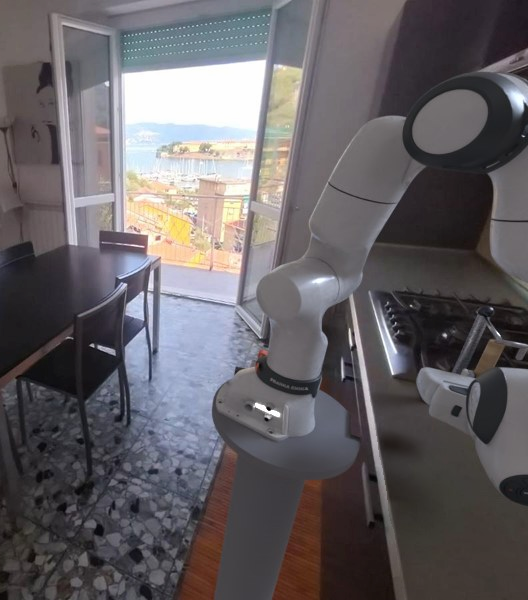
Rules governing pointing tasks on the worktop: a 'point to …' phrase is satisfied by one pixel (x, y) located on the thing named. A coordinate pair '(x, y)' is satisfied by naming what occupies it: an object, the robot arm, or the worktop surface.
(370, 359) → the worktop surface
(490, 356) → the wooden post on base
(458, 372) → the wood and metal stand
